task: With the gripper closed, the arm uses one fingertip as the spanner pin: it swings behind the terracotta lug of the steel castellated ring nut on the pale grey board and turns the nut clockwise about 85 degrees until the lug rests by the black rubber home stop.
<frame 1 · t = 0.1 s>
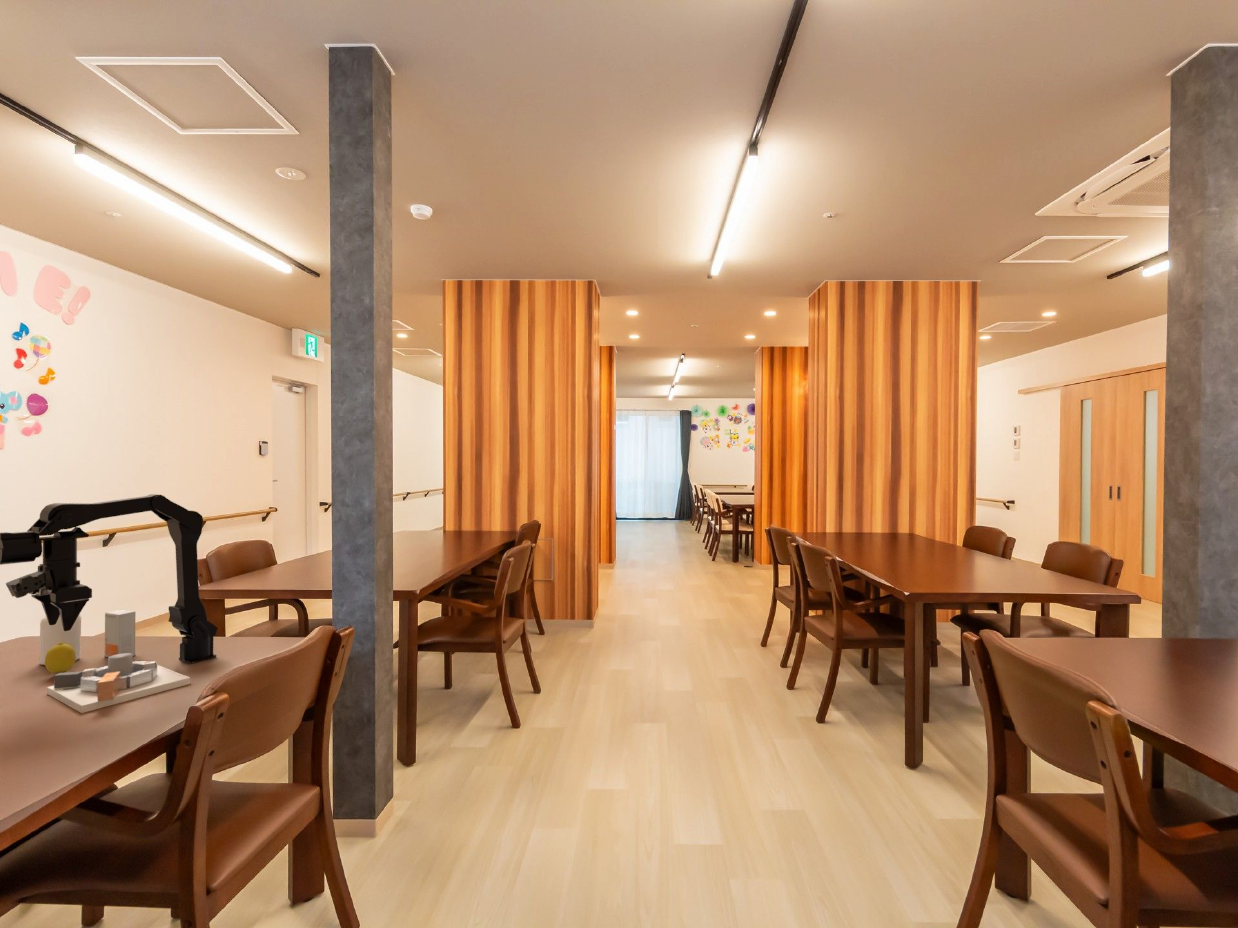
hand: (59, 627, 138), 15 cm above the table, fingers open, 9 cm apart
lemon: (60, 676, 148), on the table
pill bottle: (60, 661, 159), on the table
base board: (120, 688, 140), on the table
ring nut: (116, 676, 137), point 4 cm above the table, hinge at 60.0°
skincare box: (120, 656, 164), on the table
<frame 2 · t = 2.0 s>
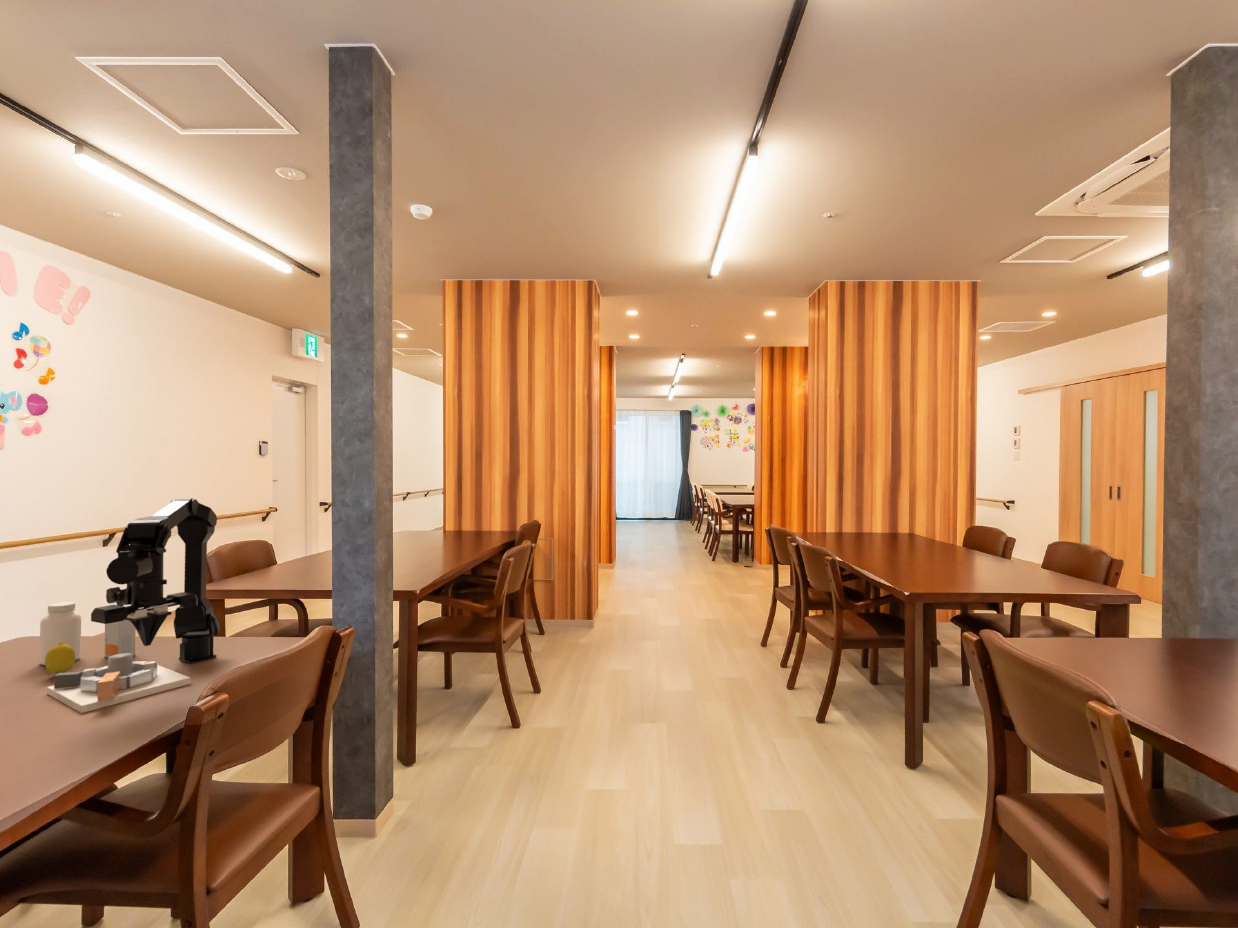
hand: (147, 645, 136), 11 cm above the table, fingers closed
nothing on the table moved.
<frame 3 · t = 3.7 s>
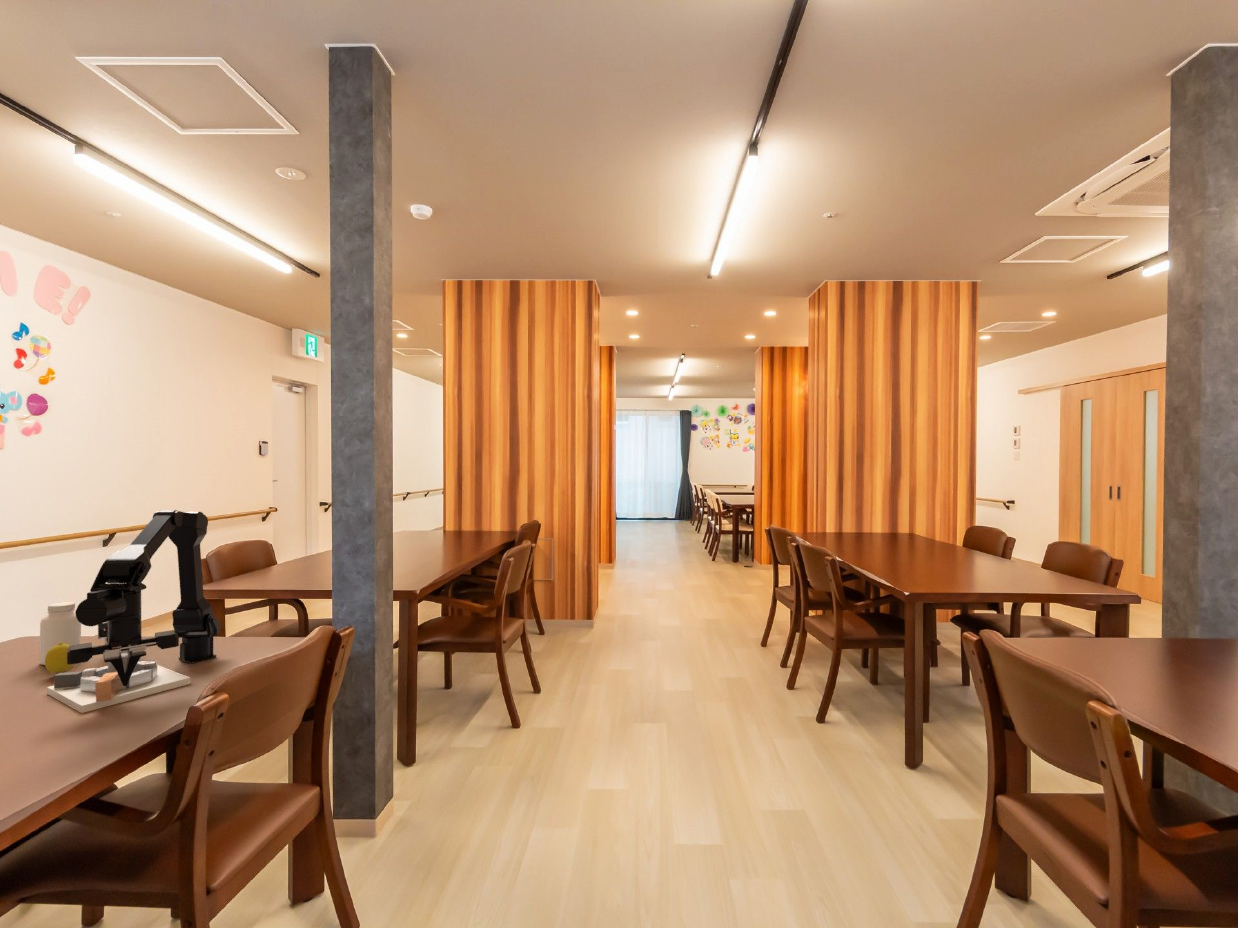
hand: (125, 685, 133), 3 cm above the table, fingers closed
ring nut: (116, 676, 137), point 4 cm above the table, hinge at 58.8°, touching gripper
everything else where it was.
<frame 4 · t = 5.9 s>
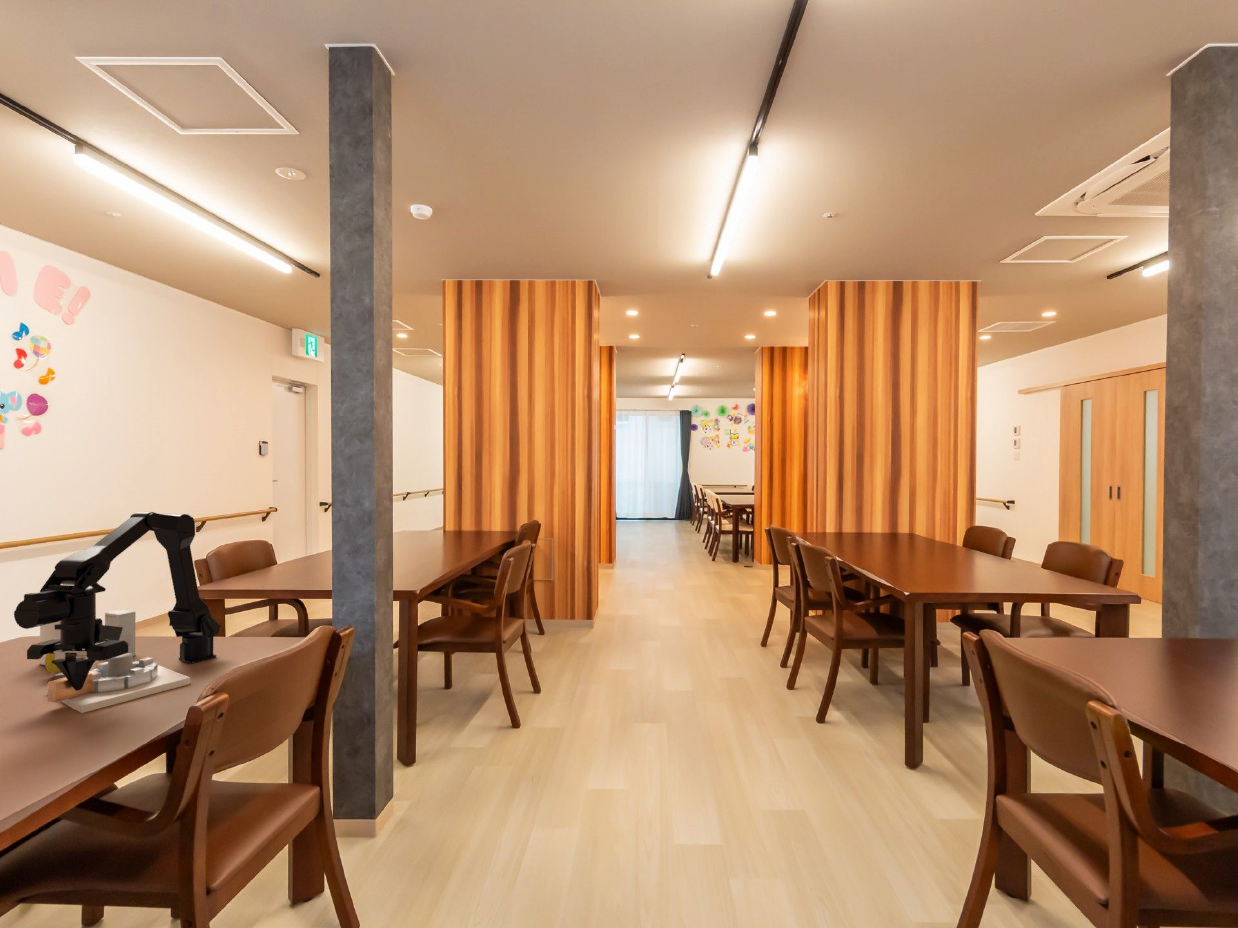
hand: (78, 689, 130), 3 cm above the table, fingers closed
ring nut: (104, 677, 137), point 4 cm above the table, hinge at 11.9°, touching gripper
everything else where it was.
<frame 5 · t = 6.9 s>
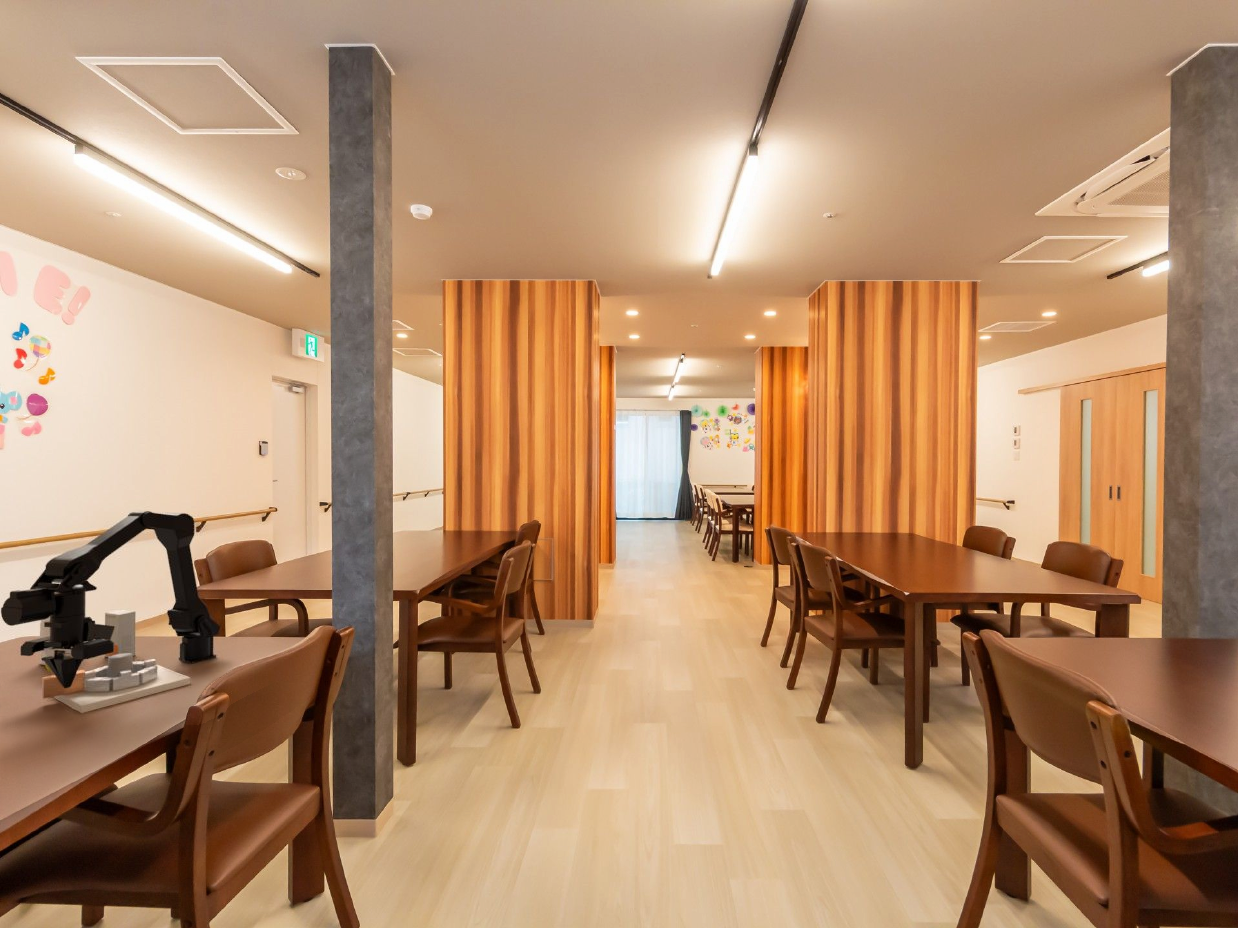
hand: (67, 687, 131), 3 cm above the table, fingers closed
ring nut: (101, 676, 137), point 4 cm above the table, hinge at -9.9°, touching gripper
everything else where it was.
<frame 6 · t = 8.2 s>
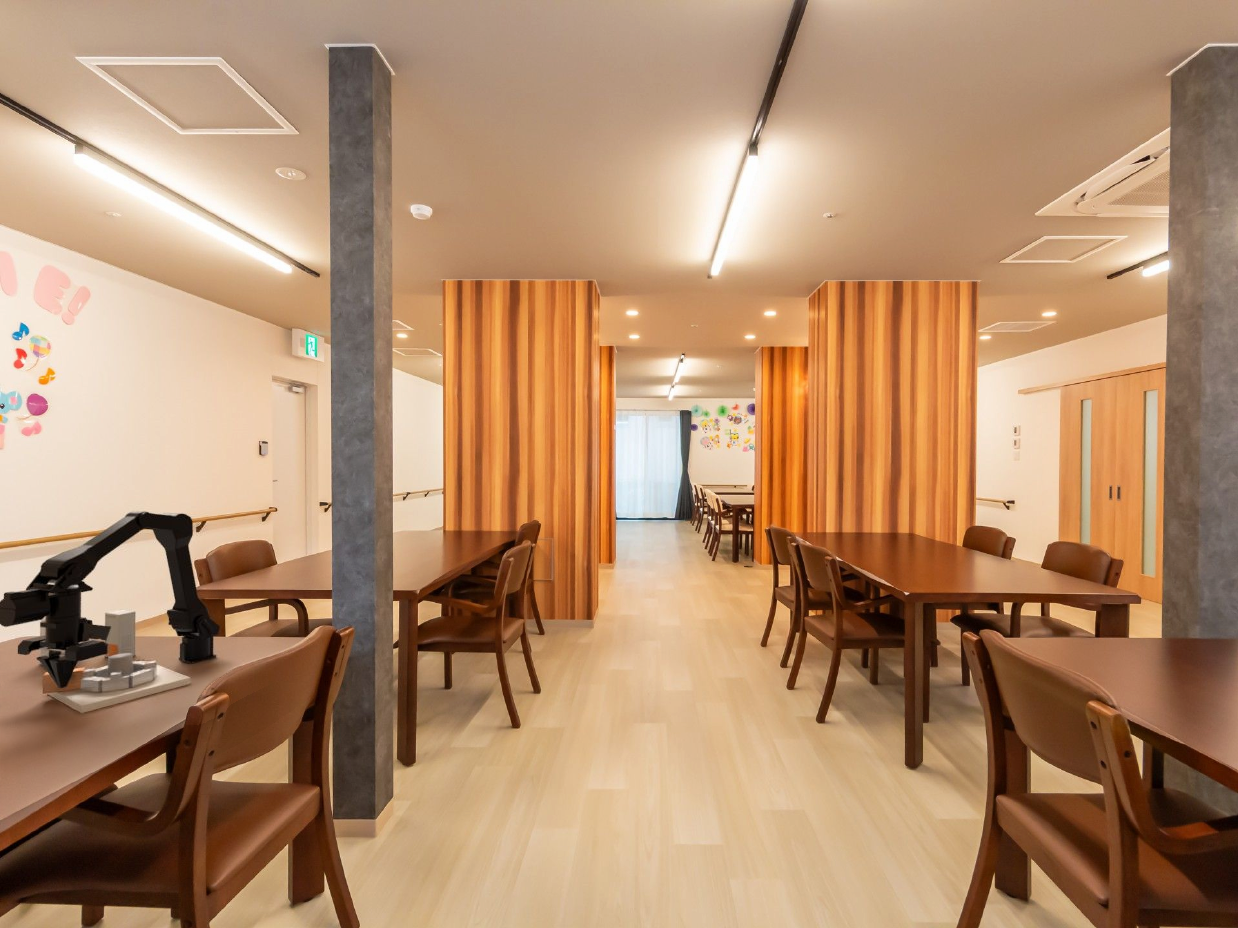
hand: (62, 687, 132), 3 cm above the table, fingers closed
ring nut: (101, 675, 138), point 4 cm above the table, hinge at -26.4°
everything else where it was.
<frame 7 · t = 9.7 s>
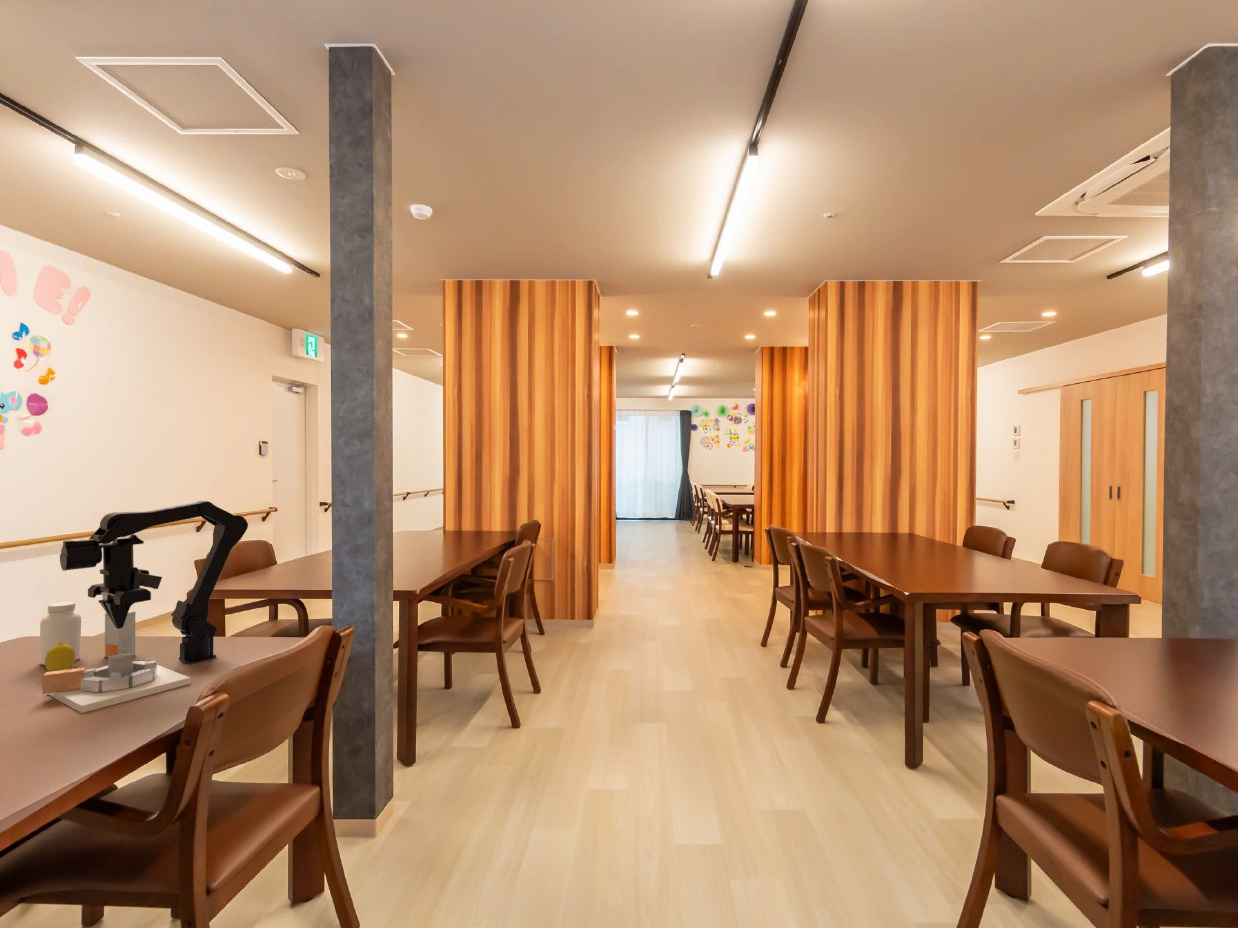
hand: (119, 628, 148), 12 cm above the table, fingers closed
nothing on the table moved.
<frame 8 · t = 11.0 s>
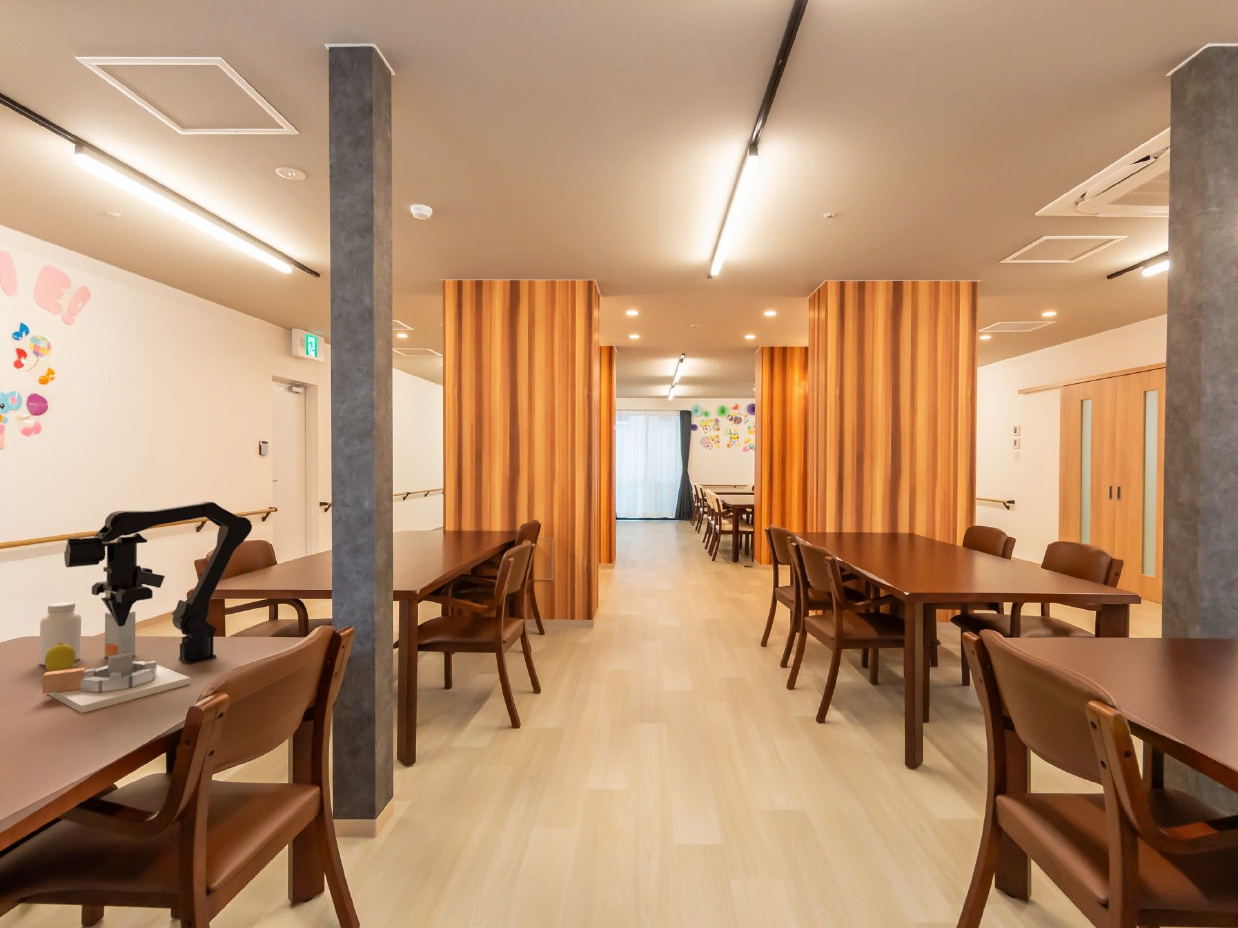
hand: (121, 625, 149), 12 cm above the table, fingers closed
nothing on the table moved.
at the end: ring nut at -26° (first picture: +60°) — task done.
